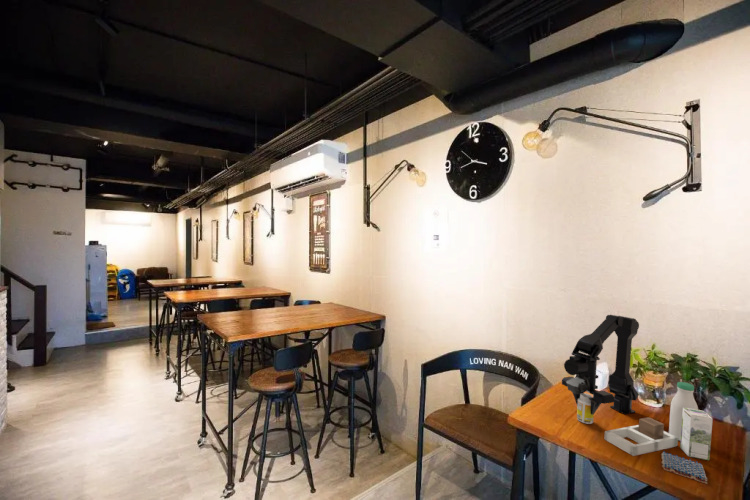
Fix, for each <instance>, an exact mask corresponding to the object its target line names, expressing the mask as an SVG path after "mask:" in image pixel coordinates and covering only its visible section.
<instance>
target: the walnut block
mask: <svg viewBox="0 0 750 500" xmlns="http://www.w3.org/2000/svg"><path fill="white" fill-rule="evenodd" d="M638 425H639V432H640V433H642V434H644V435H646V436H648V437H650V438H652V439H654V440H658V439H663V431H665V430H664V427H665V424H664V423H662V422H660V421H658V420H656V419H653V418H652V417H643V418H639V419H638Z"/></svg>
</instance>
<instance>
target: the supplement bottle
mask: <svg viewBox="0 0 750 500" xmlns="http://www.w3.org/2000/svg"><path fill="white" fill-rule="evenodd" d="M592 397H593V395H592V394H590V393H587V392H584V393H581V394H580V398H578V404H576V406H577V408H576V419H577V421H578V422H581V424H582V423H583V424H587V425H591V424H593V423H594V415H595V413H594V414H593V415H591V401H590V399H589V398H592Z"/></svg>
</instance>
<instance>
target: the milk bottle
mask: <svg viewBox="0 0 750 500" xmlns="http://www.w3.org/2000/svg"><path fill="white" fill-rule="evenodd" d="M676 386H677V387H676V389H677V391H676V393H675V395H674V396H673V398H672V399H671V403H670V409H669V410H670V411H669V424H668V433H669V434H671V435H674V436H676V437H678V442H680V440H681V426H682V412H683V408H689V409H696V410H699V407H698V403H697V402H696V400H695V397H694V393H695V385H694V384H692V383H688V382H684V381H678V382H677V385H676Z"/></svg>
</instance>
